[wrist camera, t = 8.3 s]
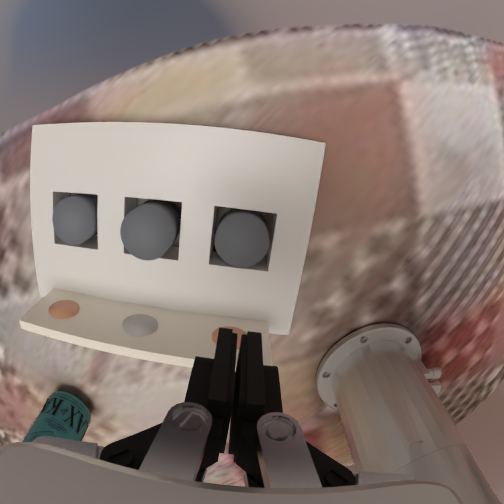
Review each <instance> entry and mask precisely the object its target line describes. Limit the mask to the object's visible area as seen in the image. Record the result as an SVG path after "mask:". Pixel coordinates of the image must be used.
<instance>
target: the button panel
mask: <svg viewBox="0 0 504 504" xmlns="http://www.w3.org/2000/svg"><path fill="white" fill-rule="evenodd" d="M325 144H326V143H322V142H317V141H311V140H306V139H300V138H294V137H288V136H282V135H276V134H269V133H262V132H254V131H247V130H238V129H230V128H220V127H210V126H198V125H185V124H168V123H145V122H82V123H60V124H44V125H33V130H32V144H31V166H30V202H31V224H32V238H33V248H34V258H35V266H36V274H37V281H38V287H39V293H40V296H43V298H42V299H41V300H40V301H39V302H38V303H37V304H36V305H35V306H34V307H33V308H32V309H30V310H29V311H28V312H27V313H26V314H25V315H24V316H23V317H22V318H21V319H20V320H19V321H20V325H21V328H22V329H25V330H28V331H31V332H34V333H37V334H41V335H44V336H47V337H51V338H54V339H58V340H61V341H65V342H69V343H72V344H76V345H80V346H84V347H88V348H92V349H96V350H101V351H105V352H109V353H114V354H118V355H123V356H128V357H133V358H138V359H143V360H149V361H154V362H160V363H166V364H172V365H178V366H185V367H191V368H193V364H194V360H195V357H196V356H198V357H205V358H211V359H214V356H215V350H216V344H217V338H218V332H219V327H221V328H228V329H233V332H232V333H238V337H237V352H236V365H237V359H238V354H239V348H240V342H241V336H242V334H246V335H247V332H248V331H251V332H259V333H262V351H263V365H268V366H273V364H272V355H271V345H270V336H269V333H270V334H281V335H289V331H290V327H291V322H292V318H293V313H294V309H295V305H296V300H297V295H298V291H299V286H300V281H301V277H302V272H303V267H304V262H305V257H306V252H307V247H308V242H309V237H310V232H311V226H312V221H313V216H314V210H315V205H316V199H317V193H318V187H319V182H320V176H321V170H322V163H323V157H324V151H325ZM70 193H83V194H97V195H98V209H97V226H98V237H91V238H89V239H88V240H86V241H85V242H83V243H82V244H80V245H75V246H74V245H69V244H66V243H65V242H63V241H62V240H61V239H60V238H59V237H58V235H57V234H56V232H55V230H54V227H53V221H52V216H53V211H54V208H55V206H56V205H57V204H58V202H60V201H61V200H63V199H65V198H67V197H70ZM137 198H144V199H155V200H165V201H175V202H182V212H181V226H180V241H179V247H172V246H170V248H169V249H168V250H167V252H166V253H165V254H164V255H163V256H161V257H160V258H158V259H155V260H141V259H138V258H136V257H134V256H133V255H132V254H130V253H129V252H128V251H127V249H126V248H125V246H124V245H123V242H122V240H121V235H120V228H121V224H122V221H123V219H124V218H125V216H126V215H127V214H128V213H129V212H130V211H132V210H133V209H135V208H137ZM217 206H220V207H229V208H237V209H245V210H253V211H260V212H268V213H273V215H272V222H271V228H270V235H269V248H268V251H267V254H266V258H263V259H262V260H261V261H259V262H258V263H256V264H254V265H252V266H249V267H235V266H232V265H230V264H228V263H226V262H225V261H224V260H222V258H221V257H220V256H219V255H218V253H217V252H213V244H214V234H215V224H216V215H217ZM235 371H236V368H235Z"/></svg>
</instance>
